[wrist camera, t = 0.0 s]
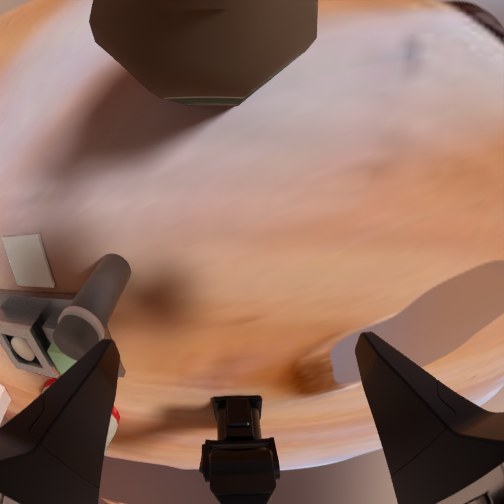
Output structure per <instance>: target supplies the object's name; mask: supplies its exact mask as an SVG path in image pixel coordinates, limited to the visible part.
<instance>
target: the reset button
mask: <svg viewBox="0 0 504 504" xmlns="http://www.w3.org/2000/svg"><path fill="white" fill-rule="evenodd" d="M11 344H12V347H13V349H14V350H15V351H16V353H17V354H18V355H20V356H21V357H22V358H24V359H26V360H28V361H32V360H33V359H34V357H35V353H34V352H33V350H32V348H31V347H30V345H29V343H28V341H27V340H26V339H25V338H20V337H15V336H14V338H13V339H12V341H11Z"/></svg>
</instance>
